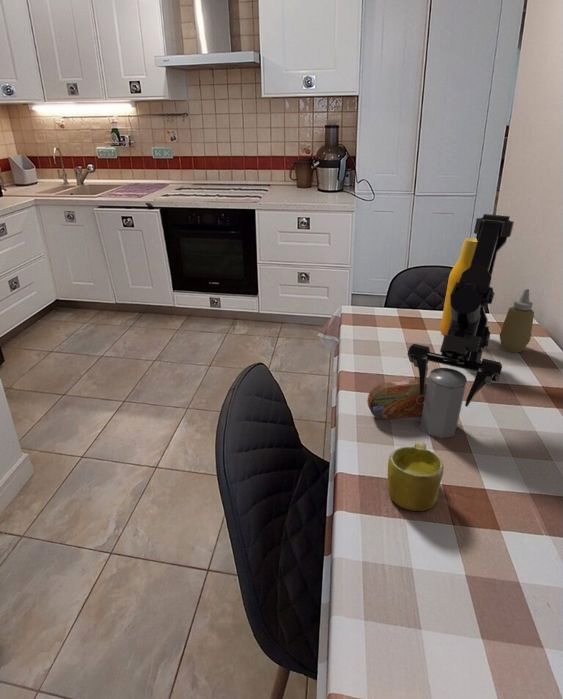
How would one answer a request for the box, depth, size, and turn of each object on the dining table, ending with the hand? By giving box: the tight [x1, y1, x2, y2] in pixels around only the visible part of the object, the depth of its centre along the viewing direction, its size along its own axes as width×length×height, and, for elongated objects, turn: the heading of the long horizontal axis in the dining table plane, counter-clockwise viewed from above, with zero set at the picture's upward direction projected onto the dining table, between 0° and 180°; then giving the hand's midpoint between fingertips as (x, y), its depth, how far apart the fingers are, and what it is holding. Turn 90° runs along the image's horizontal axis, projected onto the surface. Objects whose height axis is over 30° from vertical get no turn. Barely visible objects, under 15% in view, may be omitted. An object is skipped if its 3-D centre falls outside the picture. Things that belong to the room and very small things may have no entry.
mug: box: [387, 440, 445, 512], centre depth 85 cm, size 12×10×10 cm
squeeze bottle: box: [499, 288, 535, 353], centre depth 133 cm, size 8×8×18 cm
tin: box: [366, 379, 427, 421], centre depth 106 cm, size 15×3×8 cm, turn 99°
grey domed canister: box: [419, 367, 468, 439], centre depth 101 cm, size 7×7×13 cm
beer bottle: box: [439, 237, 477, 336], centre depth 139 cm, size 9×9×29 cm
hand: (443, 400), depth 99 cm, fingers open, 9 cm apart
